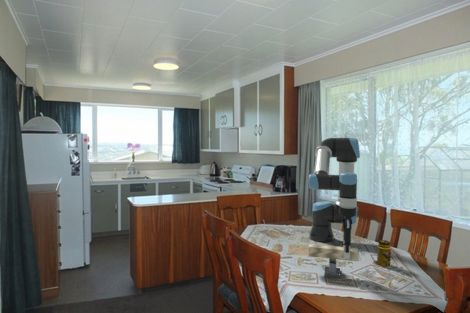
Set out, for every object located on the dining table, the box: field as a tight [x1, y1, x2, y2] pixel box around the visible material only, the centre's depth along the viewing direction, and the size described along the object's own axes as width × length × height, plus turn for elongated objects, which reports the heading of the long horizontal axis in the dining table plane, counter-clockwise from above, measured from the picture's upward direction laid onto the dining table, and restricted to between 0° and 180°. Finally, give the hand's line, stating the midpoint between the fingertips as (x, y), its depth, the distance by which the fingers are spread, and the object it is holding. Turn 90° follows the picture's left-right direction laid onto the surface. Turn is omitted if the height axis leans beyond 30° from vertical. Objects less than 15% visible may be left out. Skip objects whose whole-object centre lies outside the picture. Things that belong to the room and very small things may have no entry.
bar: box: [307, 243, 360, 262], centre depth 150 cm, size 22×4×4 cm, turn 74°
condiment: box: [371, 239, 393, 269], centre depth 161 cm, size 7×8×12 cm
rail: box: [324, 258, 342, 279], centre depth 150 cm, size 10×7×6 cm
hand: (346, 257), depth 148 cm, fingers closed on bar, 4 cm apart
